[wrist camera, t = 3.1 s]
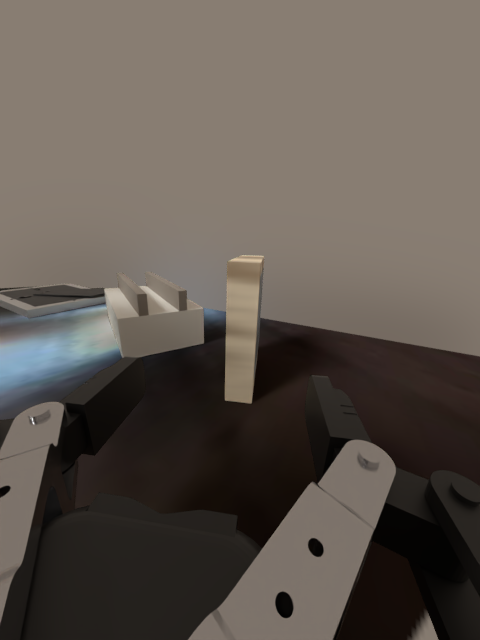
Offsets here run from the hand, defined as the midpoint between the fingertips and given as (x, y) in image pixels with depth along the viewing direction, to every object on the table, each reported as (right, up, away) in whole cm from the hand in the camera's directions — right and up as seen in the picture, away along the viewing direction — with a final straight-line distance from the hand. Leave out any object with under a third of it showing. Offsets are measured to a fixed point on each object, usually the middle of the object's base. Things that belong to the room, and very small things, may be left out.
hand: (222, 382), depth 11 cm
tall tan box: (+1, -3, +14) cm, 14 cm away
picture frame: (-39, +6, +39) cm, 56 cm away
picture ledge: (-13, +2, +25) cm, 29 cm away
